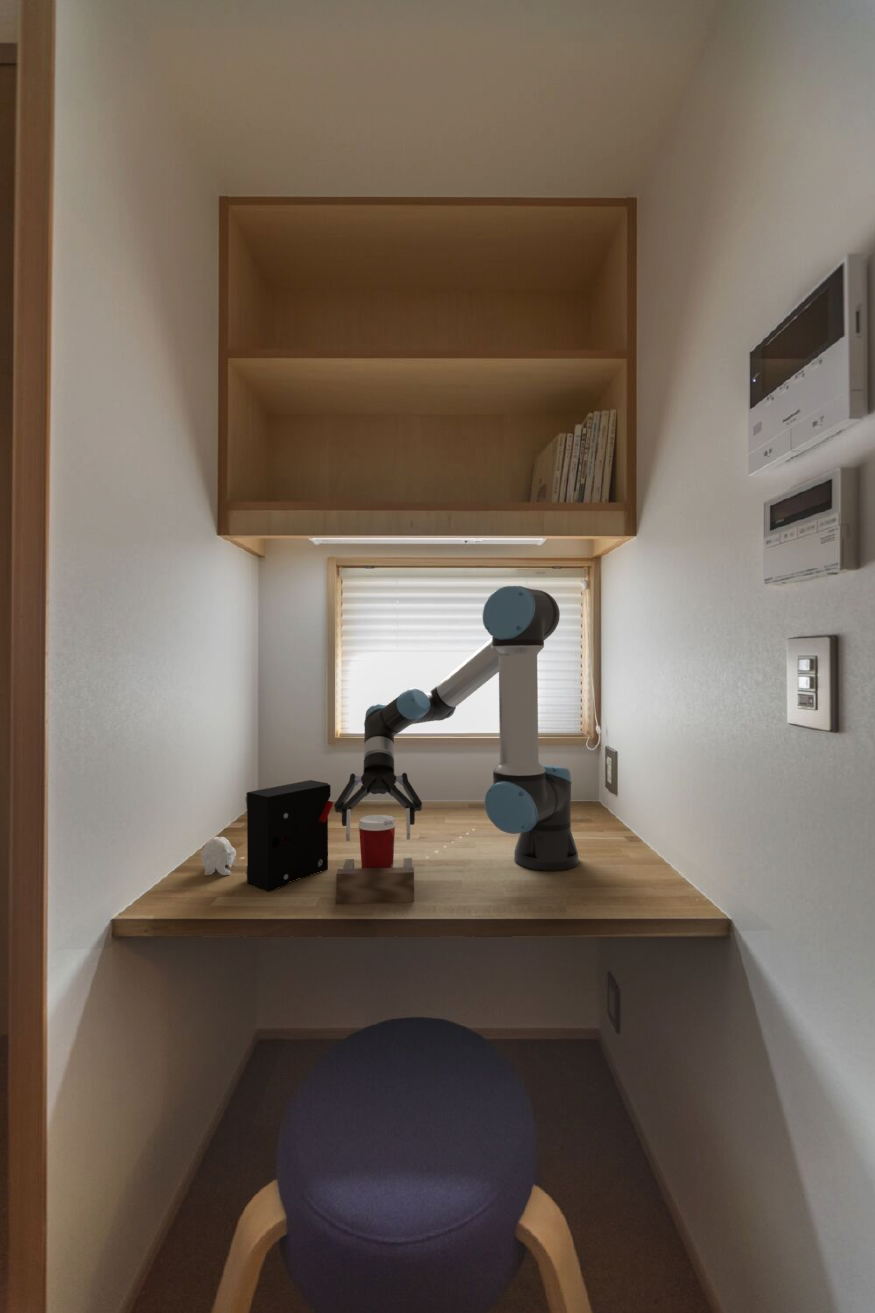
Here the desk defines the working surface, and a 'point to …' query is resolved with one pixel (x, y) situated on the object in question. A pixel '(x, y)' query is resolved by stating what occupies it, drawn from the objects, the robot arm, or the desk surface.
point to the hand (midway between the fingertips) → (378, 837)
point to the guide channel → (375, 884)
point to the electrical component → (287, 833)
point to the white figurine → (218, 856)
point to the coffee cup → (377, 841)
